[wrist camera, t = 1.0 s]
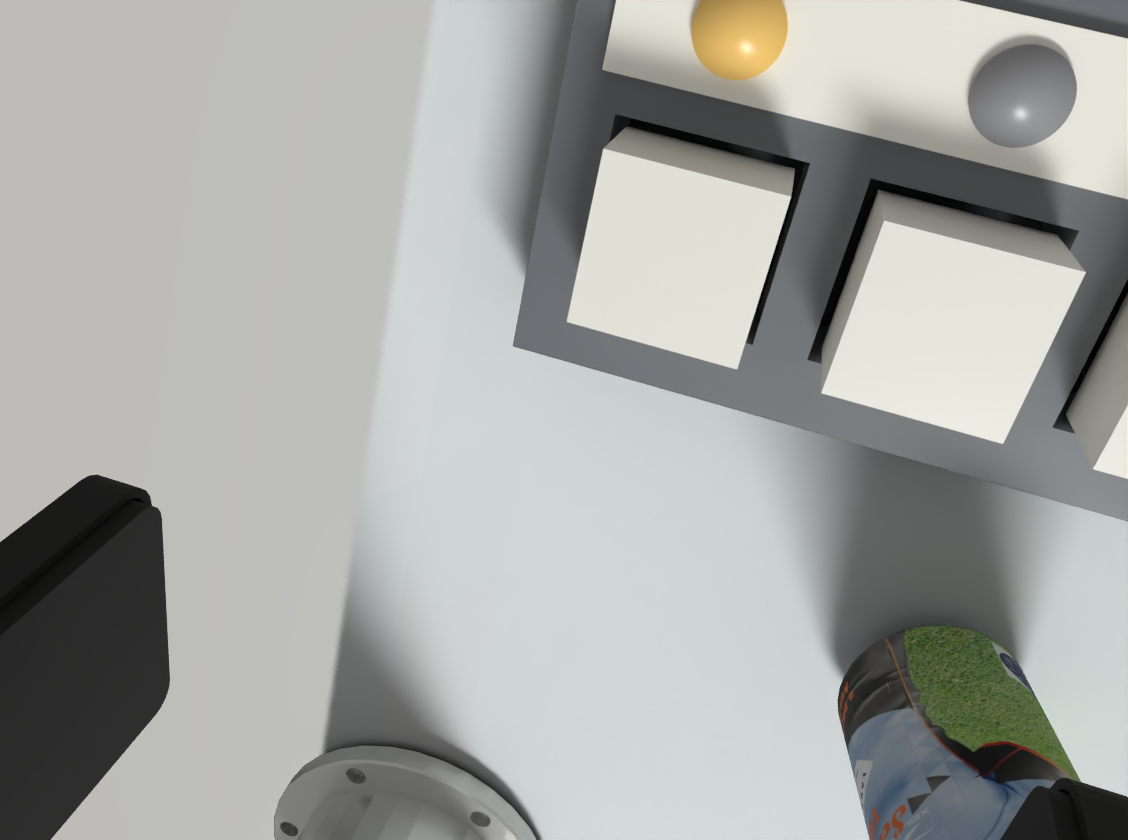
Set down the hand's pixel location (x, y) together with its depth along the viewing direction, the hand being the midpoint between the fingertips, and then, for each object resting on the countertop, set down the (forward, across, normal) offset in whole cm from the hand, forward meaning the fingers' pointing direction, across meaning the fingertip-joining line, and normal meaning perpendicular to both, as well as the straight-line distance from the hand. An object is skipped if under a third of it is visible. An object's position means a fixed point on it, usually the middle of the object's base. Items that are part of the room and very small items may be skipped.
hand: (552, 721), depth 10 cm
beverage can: (+20, -11, +14) cm, 27 cm away
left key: (+18, +1, 0) cm, 18 cm away
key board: (+20, -6, -1) cm, 21 cm away
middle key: (+18, -6, 0) cm, 19 cm away
